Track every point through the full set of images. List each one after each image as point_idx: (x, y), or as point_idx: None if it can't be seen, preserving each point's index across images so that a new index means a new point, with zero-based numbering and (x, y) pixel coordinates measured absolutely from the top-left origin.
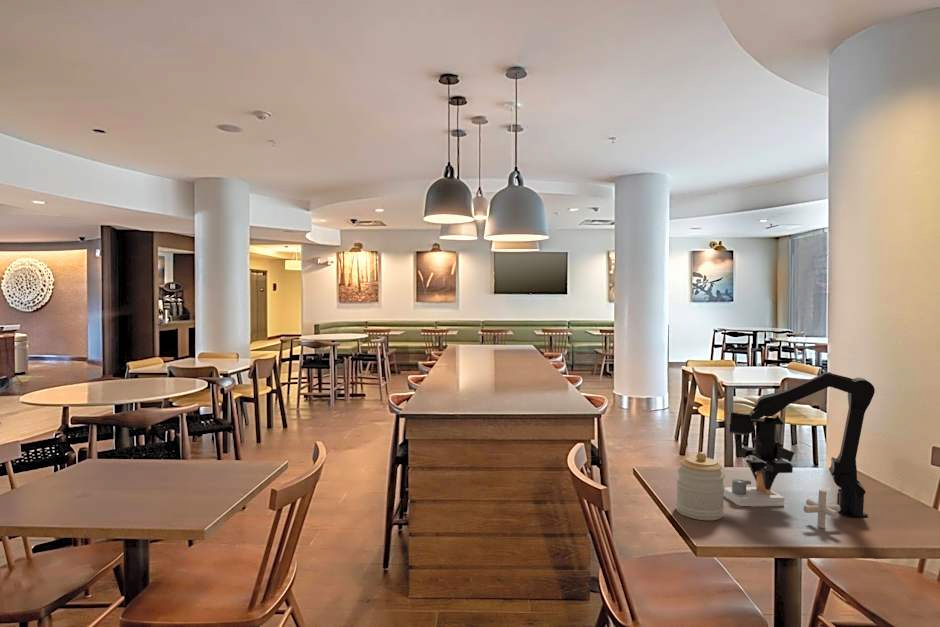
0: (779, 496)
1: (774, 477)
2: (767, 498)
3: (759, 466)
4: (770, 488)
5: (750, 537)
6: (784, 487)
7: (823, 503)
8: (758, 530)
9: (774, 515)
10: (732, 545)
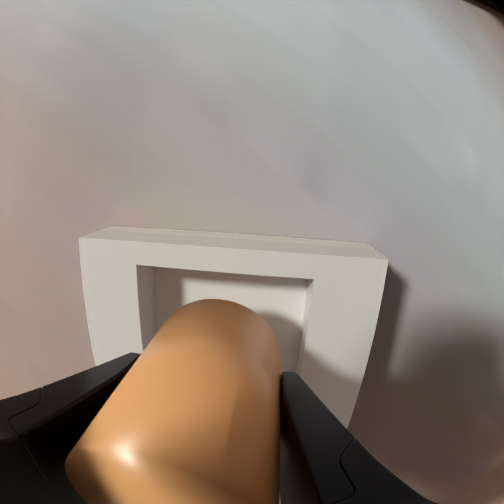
0: (353, 284)
1: (380, 477)
2: (356, 399)
3: (27, 501)
4: (267, 347)
5: (494, 497)
6: (39, 15)
7: None
8: (489, 479)
9: (457, 397)
10: None
